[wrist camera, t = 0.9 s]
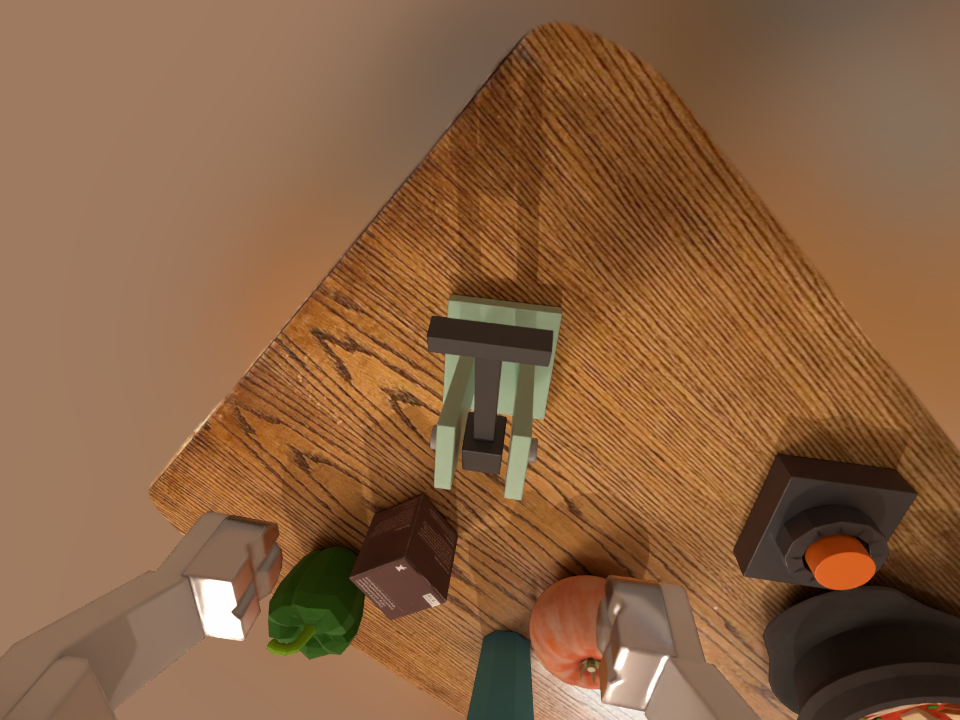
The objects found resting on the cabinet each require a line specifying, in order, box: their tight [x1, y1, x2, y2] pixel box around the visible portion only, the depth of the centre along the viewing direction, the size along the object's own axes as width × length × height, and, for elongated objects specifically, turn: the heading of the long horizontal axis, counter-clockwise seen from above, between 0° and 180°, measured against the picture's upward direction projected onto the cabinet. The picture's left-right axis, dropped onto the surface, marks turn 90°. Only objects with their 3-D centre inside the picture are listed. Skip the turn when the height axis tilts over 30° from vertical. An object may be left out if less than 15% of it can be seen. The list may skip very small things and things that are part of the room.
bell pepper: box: [267, 546, 365, 659], centre depth 48 cm, size 8×8×10 cm
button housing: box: [733, 454, 918, 593], centre depth 40 cm, size 11×9×4 cm
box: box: [350, 495, 458, 620], centre depth 45 cm, size 6×6×7 cm
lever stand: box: [430, 295, 562, 500], centre depth 33 cm, size 9×8×13 cm
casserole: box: [763, 585, 960, 720], centre depth 46 cm, size 25×19×8 cm
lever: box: [427, 316, 554, 474], centre depth 25 cm, size 12×5×2 cm, turn 175°
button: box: [805, 534, 876, 590], centre depth 38 cm, size 4×4×2 cm
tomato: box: [529, 575, 606, 689], centre depth 46 cm, size 11×11×8 cm
